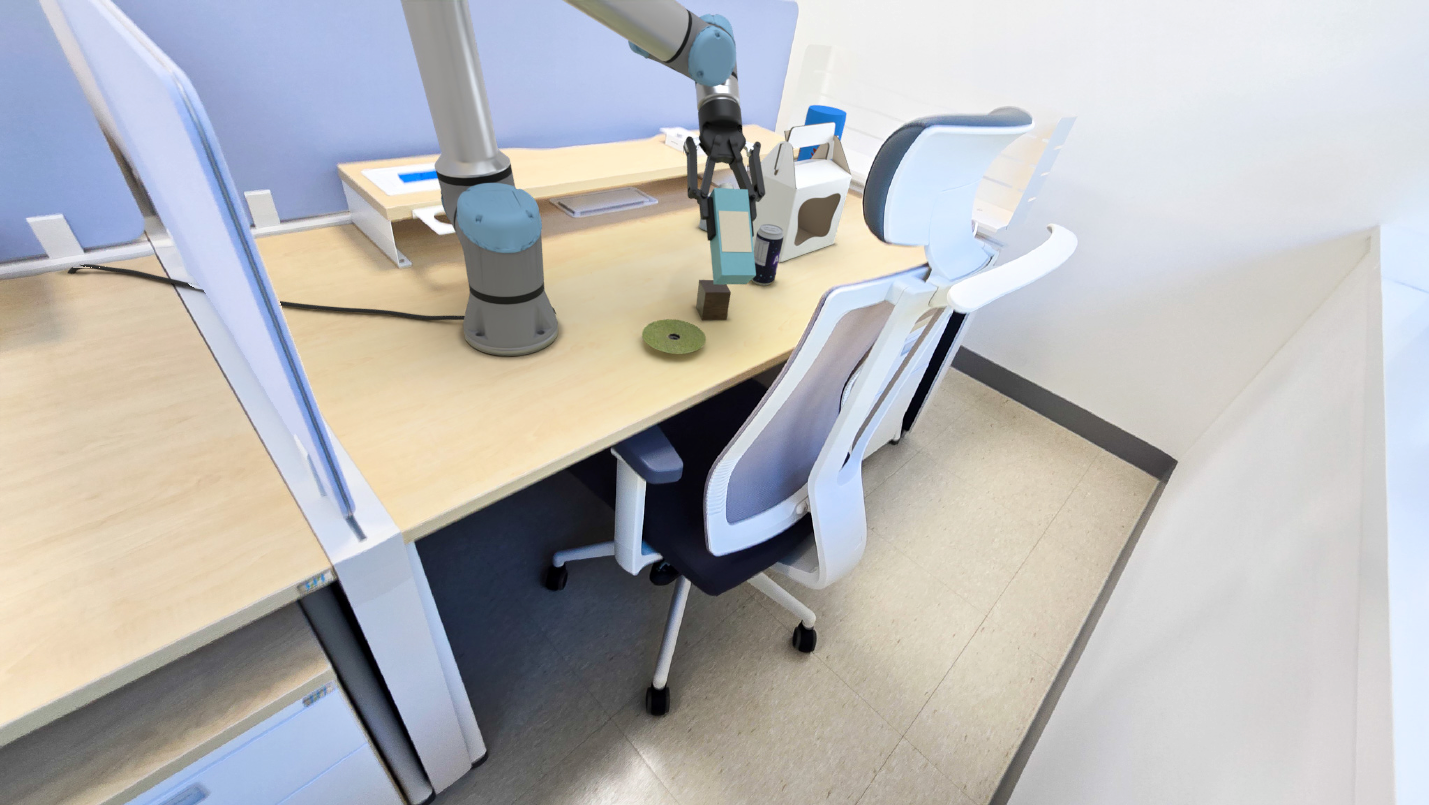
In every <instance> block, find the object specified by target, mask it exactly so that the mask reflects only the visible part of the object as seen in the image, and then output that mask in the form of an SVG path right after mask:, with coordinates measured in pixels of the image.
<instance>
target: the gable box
mask: <svg viewBox="0 0 1429 805" xmlns="http://www.w3.org/2000/svg"><path fill="white" fill-rule="evenodd" d="M834 131H835V123H834V122H827V123H819V124H811V125H805V124H804V125H796V126H792V127H791V128H790V129H788V130H784V140H782V141H779V142H778V143H776V145H775V146H774V147H772V149H771V150H770V151H769V152H768V154H767V155H766V156H765V157H764V158H762V160H760V162H761V168H762V174H763V180H764V187H765V195H764V197H763V198H762V199H761V200H760V201H759V202H756V211H757V217H756V219H755V220H754V221H753V230H754V236H753V237H752V239H753V249H754V246H755V240H756V235H757V231H758V230H759V229H760V226H761V225H763V224H772V225H776V226H779V227H780V228H782V229H783V236H784V238H783V243H782V247H781V252H780V257H779V261H778V263H782V262H786V261H788V260H791V259H794V258H797V257H800V256H803V255H806V254H809V253H812V252H815V251H818V250H820V249H823V248H827V247H828V246H833V245H834V243H835V240H836V236H837V233H838V228H839V226H840V222H841V219H842V218H841V217H842V214H843V211H844V206H845V203H846V199H847V197H848V196H847V195H848V192H849V189H850V185H851V181H852V178H853V177H852V173H851V170H850V166H849V164H848V160H847V156H846V155H845V151H844V147H843V144H842V142H841V141H842V140H841V141H840V139H839V138H838V137H839V136H838V135H834ZM819 144H821V145H820V146H819V148H818V149H817V151H816V152H815V154H814V155H813V157H812V158H811V159H808V160H803V161H797V160H796V161H795V156H794V149H800V148H801V147H807V146H813V145H819ZM830 159H832V160H830ZM750 181H751V180H750ZM751 184H752V181H751Z"/></svg>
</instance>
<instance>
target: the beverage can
mask: <svg viewBox="0 0 1429 805" xmlns="http://www.w3.org/2000/svg"><path fill="white" fill-rule="evenodd" d="M783 238H784V236H783V229H782V228H780V227H779V226H776V225H772V224H763V225H761V226H760V229H759V230H758V231H757V235H756V240H755V246H754V248H753V250H754V260H755V271H756V276H755V277H754V278H753V279H752V280H751V281H752V283H753V284H755V285H758V286H769V285H770V284H771V283H774V282H775V279H776V275H777V271H778V265H779V257H780V252H781V247H782V243H783Z"/></svg>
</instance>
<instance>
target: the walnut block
mask: <svg viewBox="0 0 1429 805" xmlns="http://www.w3.org/2000/svg"><path fill="white" fill-rule="evenodd" d="M731 294H732V291H731V290H730V288H729V286H728V284H714V282H713V279H699V280H698V288H697V296H696V303H695V308H696V310H697V313H698V315H699V316H700V320H702V321H722V320H723V321H724V320H725V321H726V320H727V319H728V312H729V308H730V301H731Z"/></svg>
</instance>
